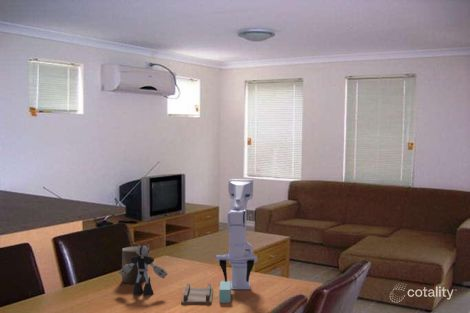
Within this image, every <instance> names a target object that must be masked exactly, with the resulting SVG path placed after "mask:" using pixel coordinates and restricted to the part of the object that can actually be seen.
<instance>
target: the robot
mask: <svg viewBox="0 0 470 313" xmlns="http://www.w3.org/2000/svg"><path fill="white" fill-rule="evenodd" d="M140 244H141V242H140V241H138V244H137V247H138V249H136V254H138V255H139V256H133V257H132V258H131V262H132V263H131V264H126V265H125V266H124V267H123V268H122V267H121V269H120V270H119V273H120V275H121V277H122V276H124V275H126V274H127V273H129V272H130V271H131V269H132V266H133V265H134V264H136V263H137V267H138V276H137V278H136V275H135V279H136V282H135V284H133V285H134V286H133V290H132V291H133V292H132V293H133V295H135V296H139V295H143V296H144V297H145V296H146V297H147V296H152V295H154V290H153V287H152V284H151V276H149V274H148V271H149V270H148V269H149V268H148V266H151V267H152V269H153V271H154V273H155V274H156V275H157V276H158V277H160V278H161V279H165V277H167V275H168V272H167V271H166V270H165V269H164V268H163V267H162V266H160V265H155V264H153V263H154V261H155V258H153V257H151V256H149V254H150V242H148V243H147V245H145V244H142V245H140ZM140 256H141V257H140ZM142 275H144V280H145V281H144V287H143V285H142V283H140V282H141V280H140V279H142V278H141V276H142Z"/></svg>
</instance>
